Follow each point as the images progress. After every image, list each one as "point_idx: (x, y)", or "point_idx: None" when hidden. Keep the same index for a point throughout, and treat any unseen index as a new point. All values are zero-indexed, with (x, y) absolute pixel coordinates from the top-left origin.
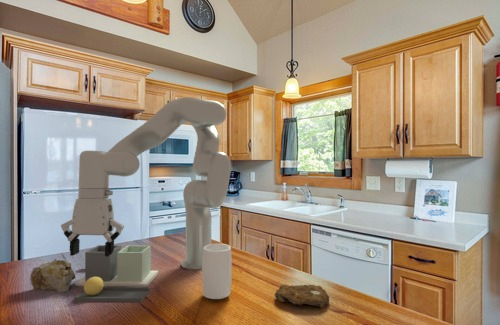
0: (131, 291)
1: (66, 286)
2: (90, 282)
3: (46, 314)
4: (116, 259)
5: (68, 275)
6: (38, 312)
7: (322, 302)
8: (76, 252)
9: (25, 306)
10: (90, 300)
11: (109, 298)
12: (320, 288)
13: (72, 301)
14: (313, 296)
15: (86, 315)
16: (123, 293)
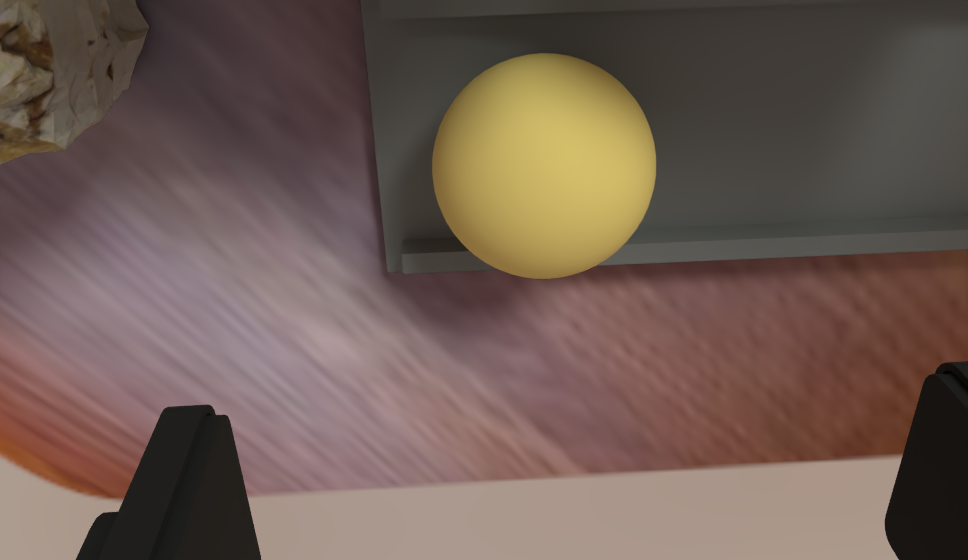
0: (942, 19)
1: (118, 67)
2: (550, 277)
3: (319, 426)
4: None
5: (55, 65)
6: (227, 407)
7: None
8: (240, 506)
9: (11, 336)
10: None
11: (767, 256)
12: None
13: (398, 270)
14: None
15: (643, 418)
16: (857, 75)
